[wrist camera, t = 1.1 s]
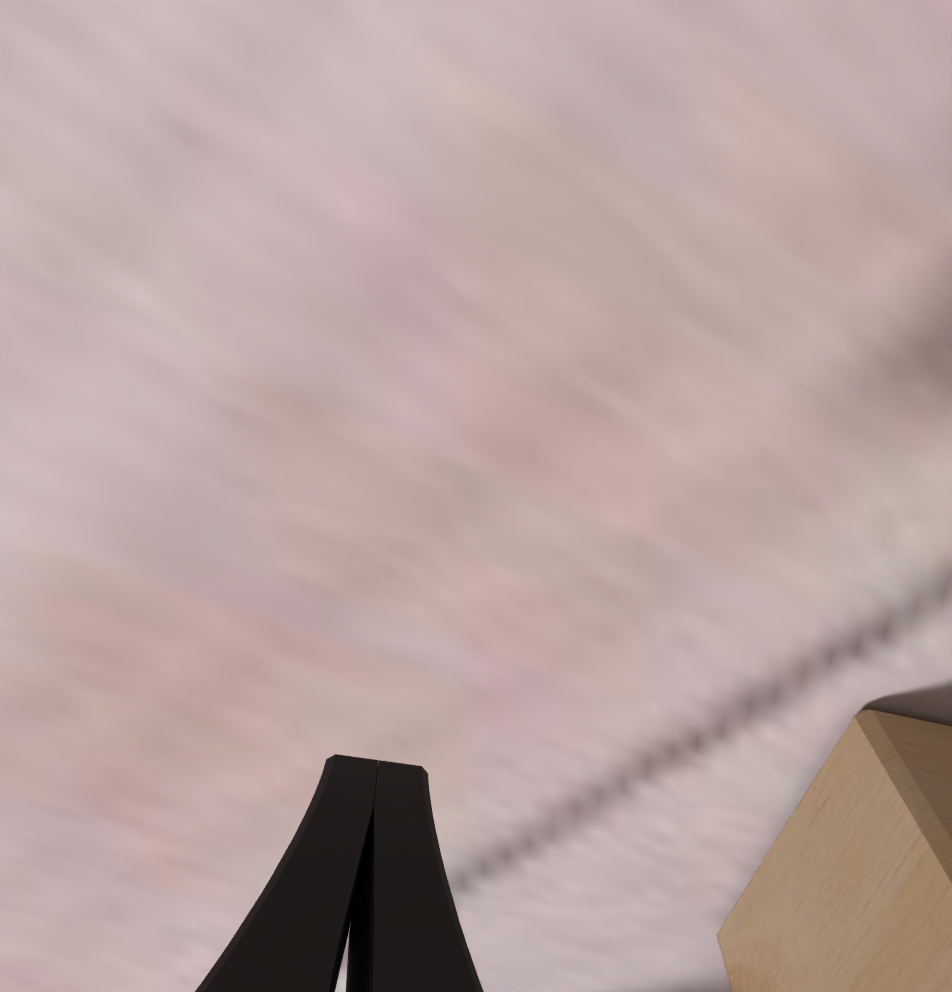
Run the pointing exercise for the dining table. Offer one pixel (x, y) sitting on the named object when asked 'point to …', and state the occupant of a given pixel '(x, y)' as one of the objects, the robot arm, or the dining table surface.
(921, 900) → the decorative block
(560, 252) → the dining table surface
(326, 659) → the dining table surface
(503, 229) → the dining table surface
